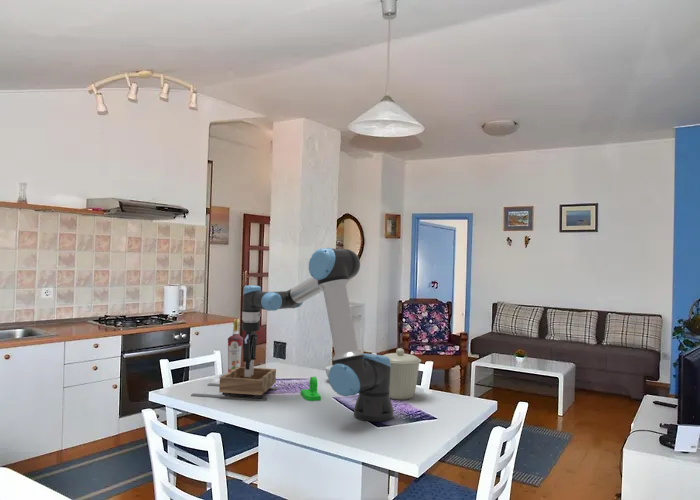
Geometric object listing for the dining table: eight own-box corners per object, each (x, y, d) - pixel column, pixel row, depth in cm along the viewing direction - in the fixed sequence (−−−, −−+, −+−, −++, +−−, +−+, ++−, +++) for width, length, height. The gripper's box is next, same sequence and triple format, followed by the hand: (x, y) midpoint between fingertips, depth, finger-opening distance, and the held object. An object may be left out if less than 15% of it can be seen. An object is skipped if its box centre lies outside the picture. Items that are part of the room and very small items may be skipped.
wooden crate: (261, 399, 213) (262, 380, 213) (219, 396, 215) (219, 377, 215) (275, 386, 234) (275, 369, 235) (236, 383, 236) (237, 366, 237)
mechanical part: (300, 394, 226) (301, 375, 226) (313, 393, 228) (314, 375, 228) (306, 401, 215) (307, 382, 215) (320, 401, 216) (321, 381, 217)
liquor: (242, 375, 256) (244, 318, 256) (240, 379, 249) (242, 320, 249) (227, 375, 255) (229, 318, 256) (225, 379, 248) (227, 320, 248)
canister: (384, 389, 238) (385, 343, 238) (423, 394, 232) (425, 347, 232) (372, 399, 221) (374, 349, 221) (414, 404, 215) (416, 353, 215)
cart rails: (265, 400, 213) (265, 399, 213) (190, 396, 217) (190, 394, 217) (278, 388, 233) (278, 387, 233) (209, 384, 237) (209, 383, 237)
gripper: (254, 324, 217) (251, 380, 216) (264, 319, 232) (262, 372, 232) (236, 323, 218) (234, 379, 217) (248, 318, 233) (246, 371, 233)
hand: (248, 375), depth 225 cm, fingers open, 3 cm apart
